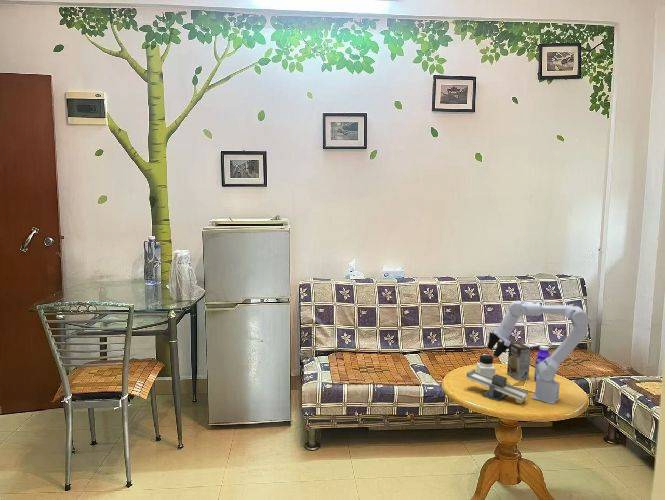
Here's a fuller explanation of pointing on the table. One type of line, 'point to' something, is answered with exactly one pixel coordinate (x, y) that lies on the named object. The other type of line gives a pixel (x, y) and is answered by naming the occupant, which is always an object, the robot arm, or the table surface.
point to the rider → (499, 381)
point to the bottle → (541, 357)
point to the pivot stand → (494, 394)
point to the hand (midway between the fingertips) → (492, 352)
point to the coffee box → (518, 361)
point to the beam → (508, 390)
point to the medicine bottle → (486, 365)
